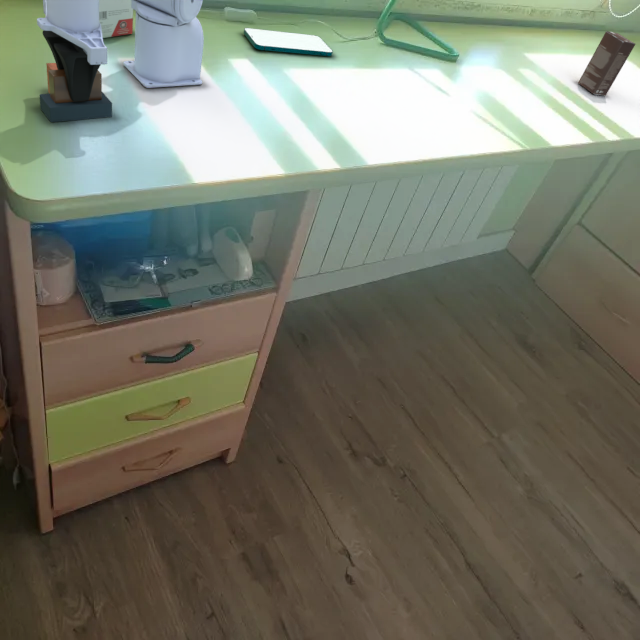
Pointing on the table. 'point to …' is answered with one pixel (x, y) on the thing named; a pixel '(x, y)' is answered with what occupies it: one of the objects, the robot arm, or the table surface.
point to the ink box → (115, 17)
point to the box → (606, 63)
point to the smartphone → (287, 42)
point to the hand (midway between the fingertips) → (76, 95)
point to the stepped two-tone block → (65, 109)
